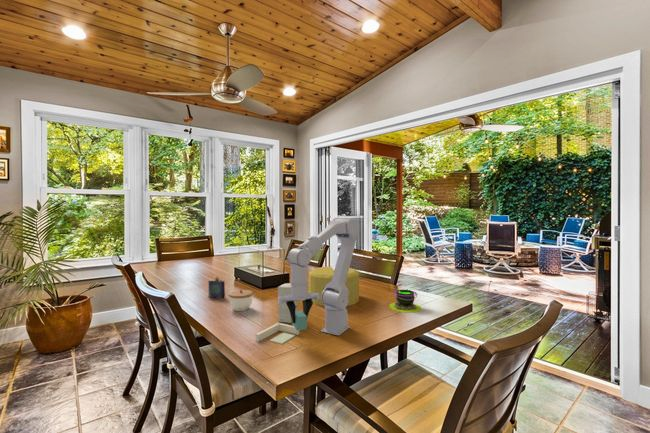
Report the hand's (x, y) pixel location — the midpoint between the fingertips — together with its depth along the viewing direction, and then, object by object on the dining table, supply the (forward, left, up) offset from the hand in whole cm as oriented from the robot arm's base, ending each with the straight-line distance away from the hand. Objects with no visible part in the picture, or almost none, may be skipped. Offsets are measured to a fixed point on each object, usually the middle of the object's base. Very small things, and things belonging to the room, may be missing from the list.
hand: (299, 321), depth 113 cm
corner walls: (-1, -10, -8) cm, 13 cm away
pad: (-1, -8, -8) cm, 11 cm away
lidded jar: (-18, -45, -8) cm, 49 cm away
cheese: (-54, -15, -8) cm, 57 cm away
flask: (-26, -70, -8) cm, 75 cm away
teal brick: (0, 0, -2) cm, 2 cm away
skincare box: (-18, -18, -8) cm, 27 cm away
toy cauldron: (-59, +21, -9) cm, 63 cm away
